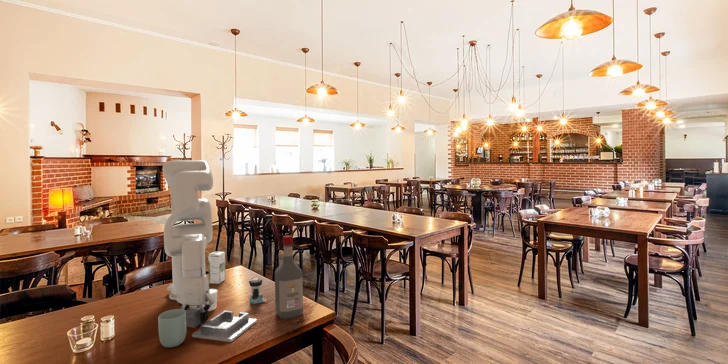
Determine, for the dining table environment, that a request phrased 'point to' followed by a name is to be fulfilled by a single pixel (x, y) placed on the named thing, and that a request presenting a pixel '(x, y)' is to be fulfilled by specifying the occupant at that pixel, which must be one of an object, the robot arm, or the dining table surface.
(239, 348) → the dining table surface
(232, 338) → the plate
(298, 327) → the dining table surface
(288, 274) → the liquor
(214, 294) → the white cylinder
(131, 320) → the dining table surface
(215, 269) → the syrup box
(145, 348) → the dining table surface
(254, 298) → the push button
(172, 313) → the cup
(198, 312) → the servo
